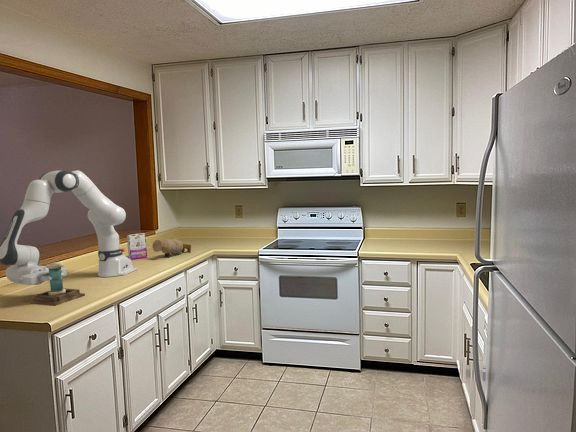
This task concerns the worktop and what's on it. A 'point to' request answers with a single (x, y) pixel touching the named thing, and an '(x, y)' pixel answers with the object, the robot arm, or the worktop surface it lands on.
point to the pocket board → (57, 297)
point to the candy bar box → (137, 246)
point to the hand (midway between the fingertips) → (57, 276)
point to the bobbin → (56, 279)
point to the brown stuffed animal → (170, 246)
